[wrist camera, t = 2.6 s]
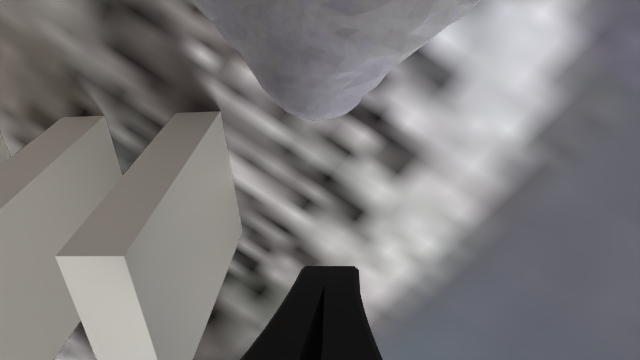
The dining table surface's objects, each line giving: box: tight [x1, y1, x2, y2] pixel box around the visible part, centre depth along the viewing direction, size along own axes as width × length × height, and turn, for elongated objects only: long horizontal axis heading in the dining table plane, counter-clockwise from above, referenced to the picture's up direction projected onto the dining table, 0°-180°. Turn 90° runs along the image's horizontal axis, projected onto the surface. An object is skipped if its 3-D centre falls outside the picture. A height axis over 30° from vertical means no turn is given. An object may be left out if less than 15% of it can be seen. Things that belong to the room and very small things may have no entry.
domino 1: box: [0, 116, 123, 360], centre depth 17 cm, size 5×2×8 cm, turn 5°
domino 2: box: [55, 111, 243, 360], centre depth 17 cm, size 5×2×8 cm, turn 5°
